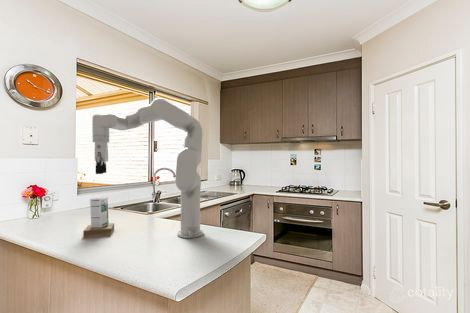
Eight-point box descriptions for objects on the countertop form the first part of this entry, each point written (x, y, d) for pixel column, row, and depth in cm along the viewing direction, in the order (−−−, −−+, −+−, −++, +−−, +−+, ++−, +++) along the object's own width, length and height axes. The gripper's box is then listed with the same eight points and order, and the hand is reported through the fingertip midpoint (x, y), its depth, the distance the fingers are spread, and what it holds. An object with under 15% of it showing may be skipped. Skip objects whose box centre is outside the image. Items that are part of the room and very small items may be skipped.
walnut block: (111, 236, 126) (111, 228, 126) (83, 239, 122) (83, 230, 122) (114, 230, 138) (114, 223, 138) (88, 232, 134) (88, 224, 134)
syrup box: (101, 228, 127) (100, 198, 127) (90, 227, 128) (89, 198, 128) (108, 225, 133) (108, 196, 133) (98, 224, 134) (97, 196, 134)
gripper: (106, 138, 123) (106, 174, 123) (111, 140, 140) (111, 172, 140) (88, 137, 121) (89, 174, 121) (96, 140, 138) (96, 172, 137)
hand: (101, 173), depth 130 cm, fingers open, 9 cm apart
